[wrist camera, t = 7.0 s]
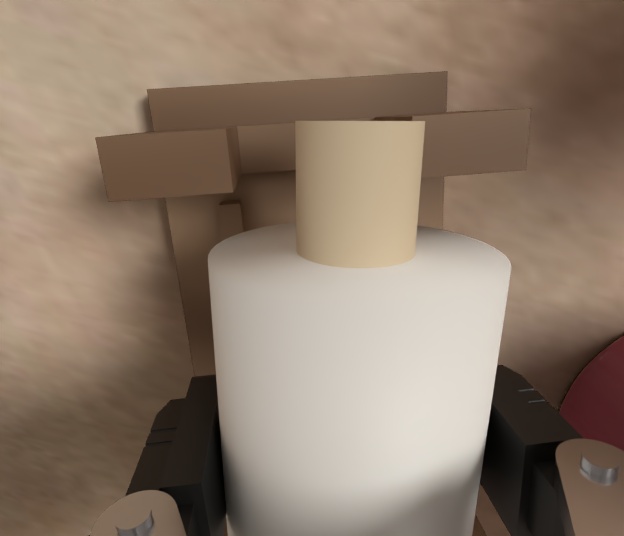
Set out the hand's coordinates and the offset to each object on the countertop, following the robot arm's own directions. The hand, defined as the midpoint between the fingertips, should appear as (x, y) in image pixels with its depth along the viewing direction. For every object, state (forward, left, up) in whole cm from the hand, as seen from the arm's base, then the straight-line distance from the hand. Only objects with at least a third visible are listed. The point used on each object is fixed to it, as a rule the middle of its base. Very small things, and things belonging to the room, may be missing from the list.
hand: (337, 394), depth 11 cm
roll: (0, +2, 0) cm, 2 cm away
